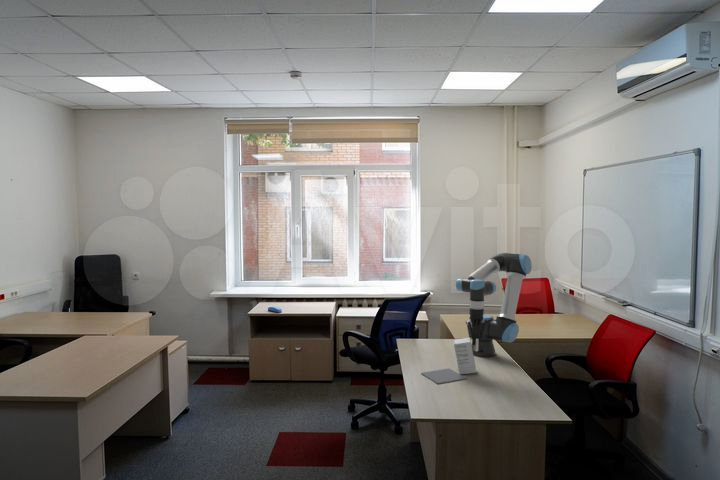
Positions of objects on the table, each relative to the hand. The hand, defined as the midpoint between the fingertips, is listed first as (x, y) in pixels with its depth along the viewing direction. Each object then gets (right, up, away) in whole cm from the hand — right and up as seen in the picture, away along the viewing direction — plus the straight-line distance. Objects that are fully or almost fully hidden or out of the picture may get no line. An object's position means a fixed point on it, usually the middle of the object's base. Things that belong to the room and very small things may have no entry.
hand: (475, 350), depth 257 cm
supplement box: (-5, -11, -1) cm, 12 cm away
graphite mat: (-19, -12, -7) cm, 24 cm away
